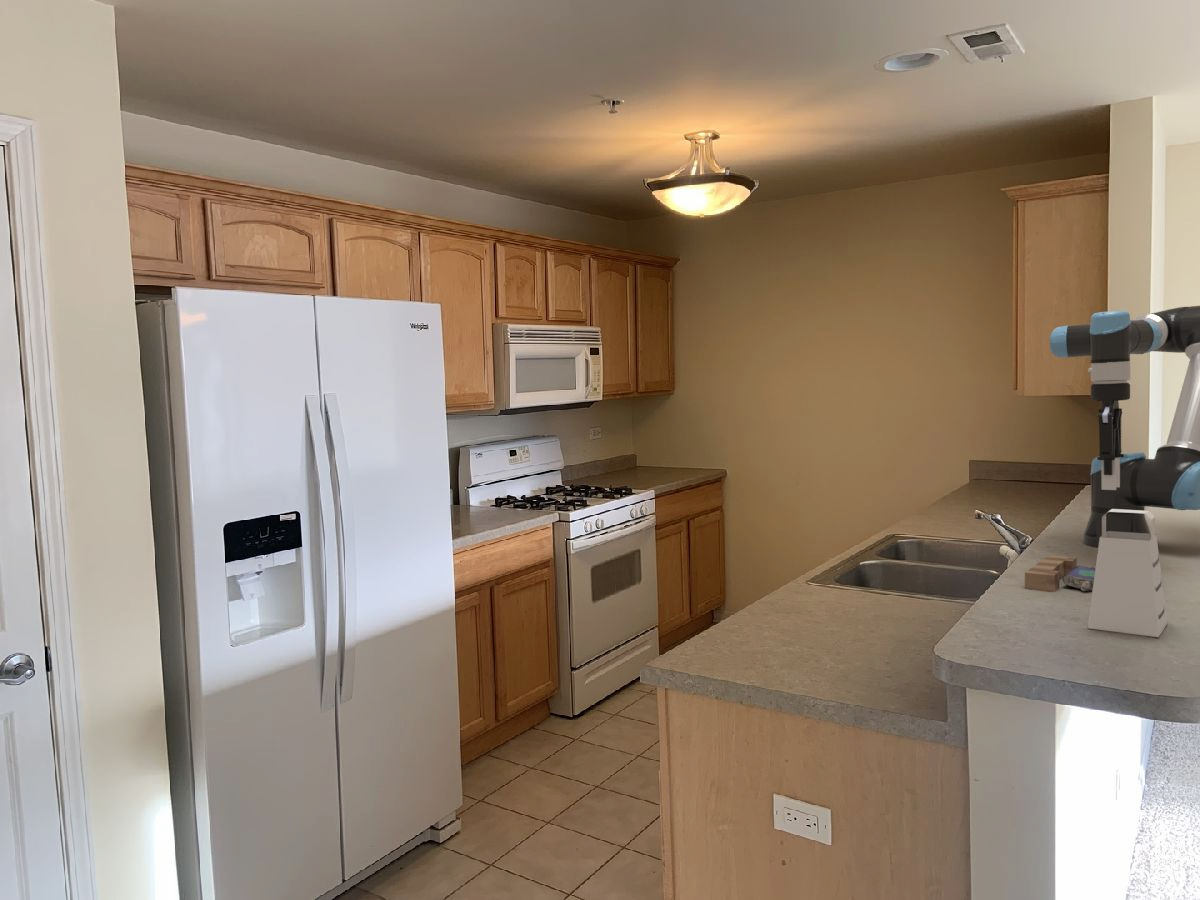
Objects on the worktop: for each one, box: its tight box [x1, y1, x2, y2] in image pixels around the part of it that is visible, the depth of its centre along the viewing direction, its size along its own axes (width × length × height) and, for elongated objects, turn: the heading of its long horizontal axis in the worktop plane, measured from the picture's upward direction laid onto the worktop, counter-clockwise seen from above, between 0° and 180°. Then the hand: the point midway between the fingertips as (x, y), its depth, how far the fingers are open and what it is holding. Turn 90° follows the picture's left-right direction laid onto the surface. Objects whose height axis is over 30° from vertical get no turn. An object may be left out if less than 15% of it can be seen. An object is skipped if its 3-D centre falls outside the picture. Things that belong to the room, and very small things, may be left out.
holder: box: [1024, 555, 1078, 593], centre depth 184 cm, size 21×21×4 cm
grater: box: [1087, 509, 1168, 638], centre depth 153 cm, size 10×10×20 cm
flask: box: [1062, 564, 1096, 592], centre depth 181 cm, size 9×3×11 cm
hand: (1110, 488), depth 196 cm, fingers open, 4 cm apart
